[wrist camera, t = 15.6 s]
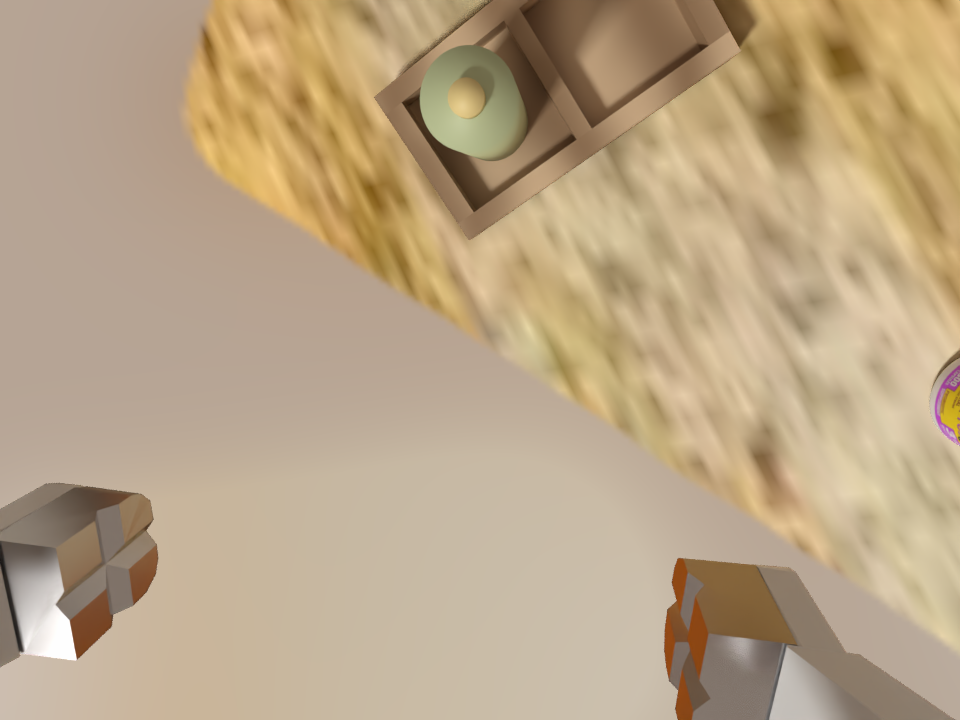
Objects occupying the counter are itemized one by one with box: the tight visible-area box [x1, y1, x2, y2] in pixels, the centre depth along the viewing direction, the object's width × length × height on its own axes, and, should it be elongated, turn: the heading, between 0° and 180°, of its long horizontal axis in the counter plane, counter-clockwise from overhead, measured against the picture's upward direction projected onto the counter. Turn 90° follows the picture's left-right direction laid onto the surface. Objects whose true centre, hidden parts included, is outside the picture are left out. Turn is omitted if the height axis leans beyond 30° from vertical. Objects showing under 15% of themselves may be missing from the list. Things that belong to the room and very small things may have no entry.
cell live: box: [420, 45, 528, 161], centre depth 30 cm, size 4×4×11 cm
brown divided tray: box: [374, 0, 741, 240], centre depth 34 cm, size 18×10×2 cm, turn 124°
